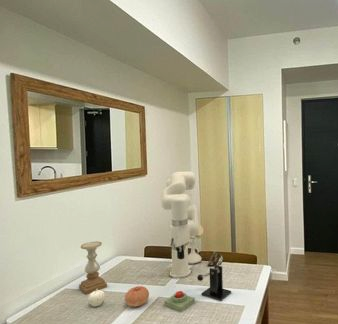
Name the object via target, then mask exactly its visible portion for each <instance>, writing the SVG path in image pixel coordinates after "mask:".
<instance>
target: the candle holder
mask: <svg viewBox="0 0 338 324" xmlns="http://www.w3.org/2000/svg"><path fill="white" fill-rule="evenodd" d="M102 245H103V242H102V241H98V240H96V241H89V242H88V241H87V242H85V243H82V244H81V245H80V248H81V249H82V250H86V251H87V255H86V256H85V257H86V259H87V260H88V262H87V263H86V265H85V267H84V273H86V275H85V277H86V279H84V280H82V281H81V282H80V283H79V285H78V289H79V290H80V291H81V292H82V293H83V294H84V295H89V294H91V293H92V292H93V291H96V289H97V288H98V289H97V290H102V289H105V288H107V287H108V283H107V282H106V281H105V280H104V279H103V277H101V276H100V273H99V270H100V268H101V265H100V263H98V261H97V260H96V259H97V256H98V254H97V252H96V250H98V248H100V247H101V246H102Z"/></svg>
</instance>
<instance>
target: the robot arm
mask: <svg viewBox="0 0 338 324" xmlns="http://www.w3.org/2000/svg"><path fill="white" fill-rule="evenodd" d="M195 184H196V175H195V173H194V172H193V171H191V170H188V171H184V170H183V171H174V172H173V173H171V175H170V178H168V179H167V180H166V185H165V186H166V187H165V188H164V190H163V191H162V194H161V206H162V208H163V210H168V211H169V210H170V211H171V223H170V225H169V226H168V227H169V230H168V231H169V237H168V240H169V241H168V244H169V246H170V247H171V263H170V264H169V265H168V269H170V271H169V276H170V277H171V278H174V279H175V278H176V279H180V278H185V277H188V276H190V275H191V274H192V269H191V268H189V263H188V255H189V248H188V247H189V244H190V243H189V241H191V239H190V237H195V236H196V235H198V234H199V225H200V222H199V210H198V206H197V204H194V203H191V197H190V196H189V194H187V193H185V192H186V191H190V190H193V189H194V188H195Z"/></svg>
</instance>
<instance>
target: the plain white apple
mask: <svg viewBox="0 0 338 324" xmlns="http://www.w3.org/2000/svg"><path fill="white" fill-rule="evenodd" d="M97 289H98V288H97ZM97 289H96V291H93V292H91V293H89V294H88V297H87V299H88V302H89V304H90V305H91V307H99V306H101V305H102V303H103V302H104V300H105V296H106V295H105V292H104V291H103V290H102V289H100V290H97Z"/></svg>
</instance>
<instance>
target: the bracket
mask: <svg viewBox="0 0 338 324" xmlns="http://www.w3.org/2000/svg"><path fill="white" fill-rule="evenodd" d="M217 267H218V268H219V270H220V272H219V273H218V270H217V269H215V268H217ZM209 273H210V275H209V287H208V288H207V289H205V290H204V291H202V292H201V296H203V297H205V298H209V299H213V300H216V301H219V302H222V301H223V300H225V299H226V298H227V297H229V295H231V294H232V290H229V289H226V288H224V286H223V284H224V283H223V266H221V265H215V266H213V267H210V268H209Z"/></svg>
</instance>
